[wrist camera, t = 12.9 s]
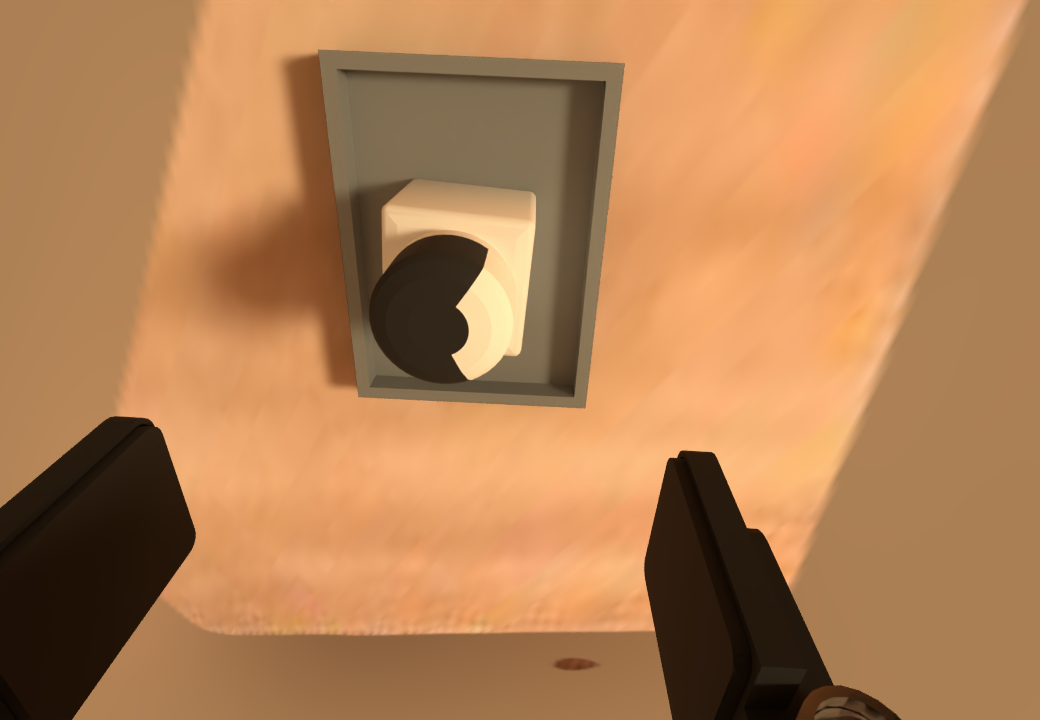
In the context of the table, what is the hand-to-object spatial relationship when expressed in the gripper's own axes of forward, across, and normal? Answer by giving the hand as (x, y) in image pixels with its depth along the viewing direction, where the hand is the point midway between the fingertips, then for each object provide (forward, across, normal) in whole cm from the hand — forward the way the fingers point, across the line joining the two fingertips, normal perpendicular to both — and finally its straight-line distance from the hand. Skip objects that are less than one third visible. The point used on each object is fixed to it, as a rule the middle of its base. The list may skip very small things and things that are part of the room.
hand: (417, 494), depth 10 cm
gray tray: (+25, +2, +3) cm, 25 cm away
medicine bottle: (+24, +2, +3) cm, 25 cm away
